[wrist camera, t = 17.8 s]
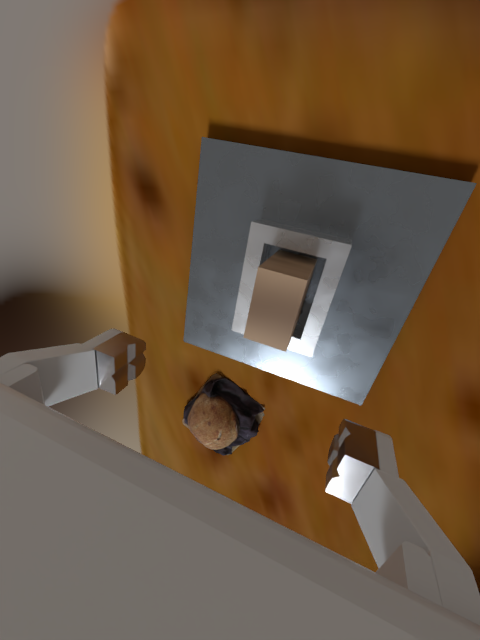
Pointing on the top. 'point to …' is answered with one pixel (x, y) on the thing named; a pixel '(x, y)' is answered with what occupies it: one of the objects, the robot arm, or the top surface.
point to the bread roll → (222, 415)
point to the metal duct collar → (319, 243)
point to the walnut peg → (278, 298)
